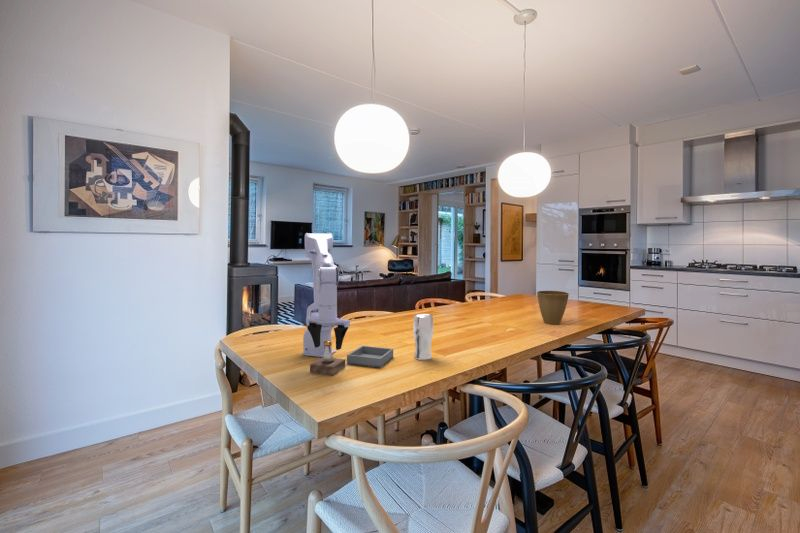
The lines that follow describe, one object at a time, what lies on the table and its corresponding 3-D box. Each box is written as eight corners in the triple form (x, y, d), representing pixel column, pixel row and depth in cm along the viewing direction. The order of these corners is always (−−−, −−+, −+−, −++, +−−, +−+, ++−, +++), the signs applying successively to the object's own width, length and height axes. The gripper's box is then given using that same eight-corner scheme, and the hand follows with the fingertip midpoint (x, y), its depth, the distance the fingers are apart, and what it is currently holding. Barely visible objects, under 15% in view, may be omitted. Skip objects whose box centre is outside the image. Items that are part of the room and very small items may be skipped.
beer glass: (427, 362, 122) (427, 318, 121) (409, 358, 125) (409, 315, 124) (436, 356, 128) (436, 314, 127) (419, 353, 131) (419, 312, 130)
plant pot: (532, 320, 193) (533, 290, 192) (561, 320, 191) (562, 290, 191) (540, 326, 178) (541, 293, 177) (572, 326, 177) (573, 294, 176)
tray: (346, 363, 119) (346, 354, 119) (362, 353, 131) (362, 345, 131) (380, 368, 115) (380, 358, 115) (393, 357, 127) (393, 348, 127)
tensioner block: (310, 372, 111) (309, 364, 111) (323, 364, 119) (323, 356, 119) (332, 375, 109) (332, 367, 109) (345, 367, 116) (345, 359, 116)
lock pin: (322, 370, 113) (322, 342, 112) (326, 368, 115) (326, 340, 115) (329, 371, 112) (329, 342, 112) (333, 368, 114) (333, 340, 114)
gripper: (300, 305, 111) (300, 349, 112) (342, 308, 106) (342, 353, 107) (312, 302, 118) (313, 343, 119) (352, 304, 113) (353, 347, 114)
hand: (327, 347), depth 113 cm, fingers open, 7 cm apart
